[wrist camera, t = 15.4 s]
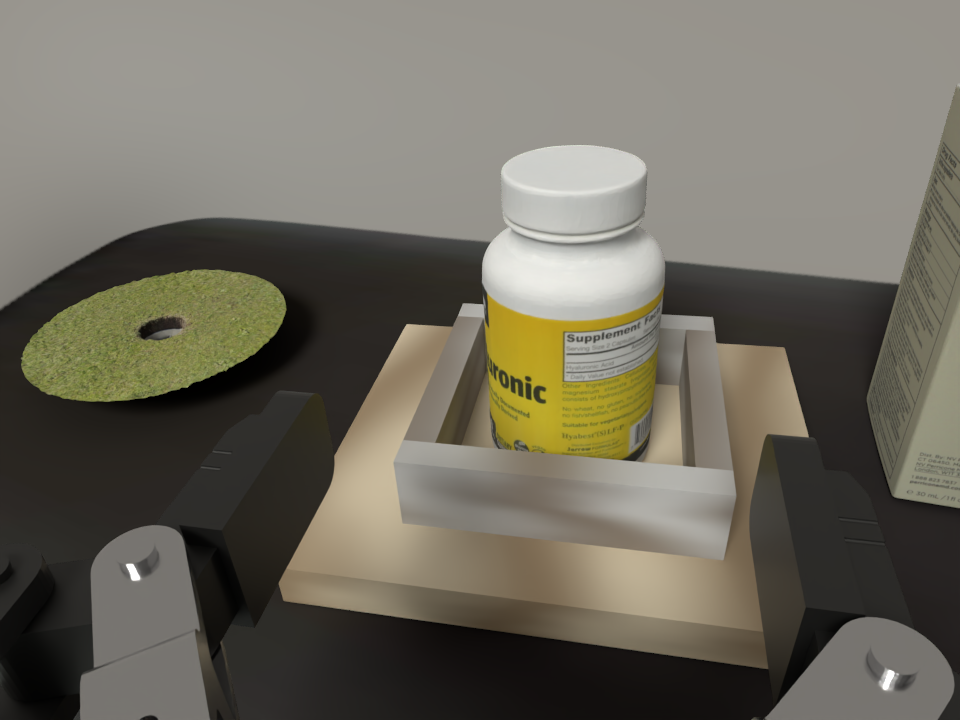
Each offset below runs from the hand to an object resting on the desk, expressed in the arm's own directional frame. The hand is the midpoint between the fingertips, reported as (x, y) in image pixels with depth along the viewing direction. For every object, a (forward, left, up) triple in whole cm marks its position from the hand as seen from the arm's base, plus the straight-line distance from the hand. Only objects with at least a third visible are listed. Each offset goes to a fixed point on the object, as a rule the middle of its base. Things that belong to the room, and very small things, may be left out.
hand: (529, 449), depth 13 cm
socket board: (0, -10, -9) cm, 13 cm away
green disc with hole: (+19, -15, -9) cm, 26 cm away
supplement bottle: (0, -9, -8) cm, 12 cm away
